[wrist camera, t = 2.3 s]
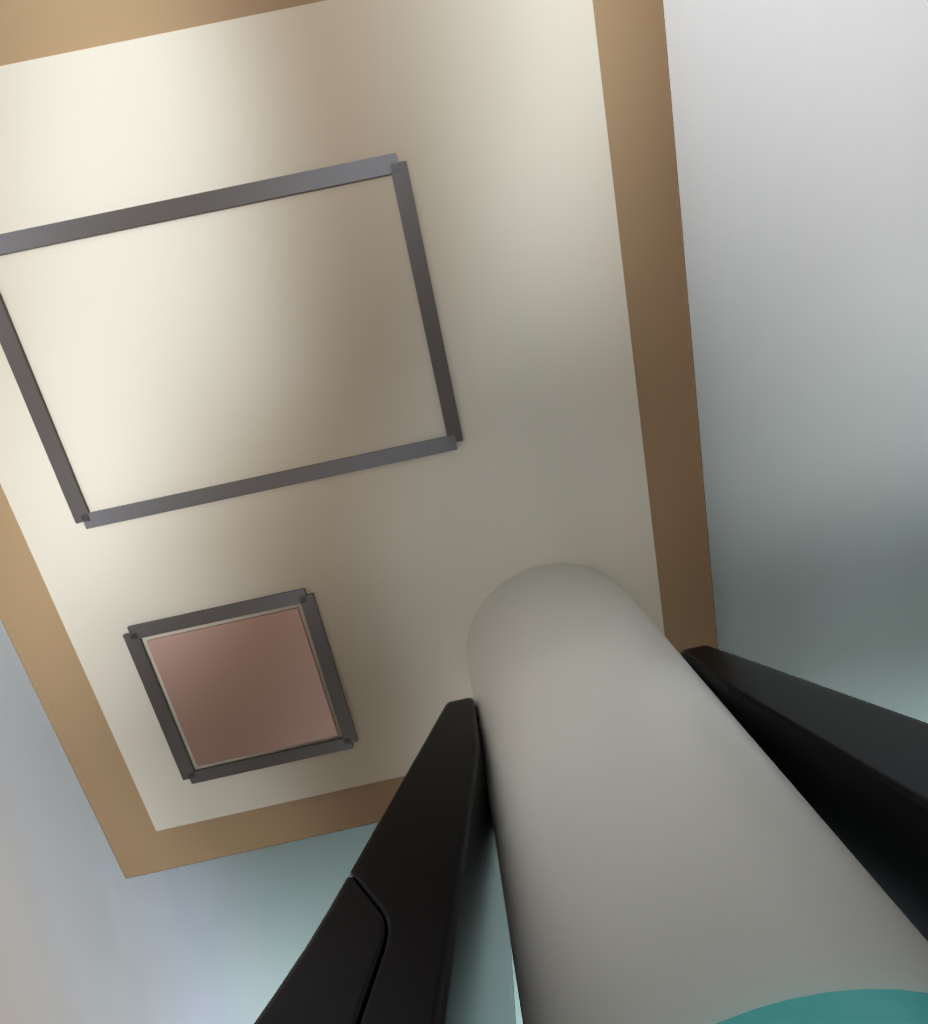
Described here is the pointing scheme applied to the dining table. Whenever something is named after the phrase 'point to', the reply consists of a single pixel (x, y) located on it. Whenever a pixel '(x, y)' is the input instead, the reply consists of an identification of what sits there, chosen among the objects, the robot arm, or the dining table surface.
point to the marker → (661, 835)
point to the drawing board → (324, 380)
